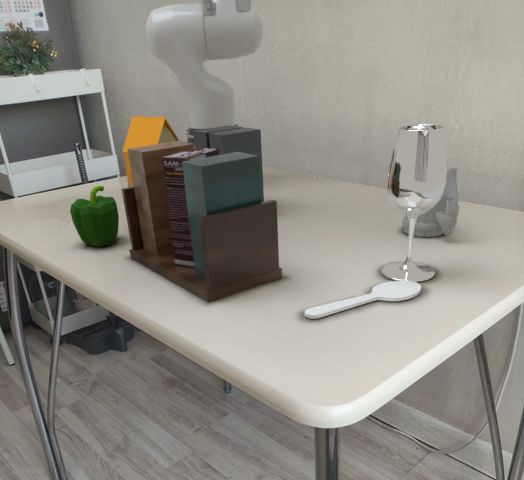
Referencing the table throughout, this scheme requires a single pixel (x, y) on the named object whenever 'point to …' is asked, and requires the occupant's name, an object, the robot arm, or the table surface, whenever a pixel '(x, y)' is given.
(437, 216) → the grey curved piece
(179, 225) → the supplement box
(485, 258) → the table surface
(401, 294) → the spoon
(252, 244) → the book rack
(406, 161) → the wineglass
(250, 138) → the grey books
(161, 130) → the orange juice
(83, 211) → the bell pepper
